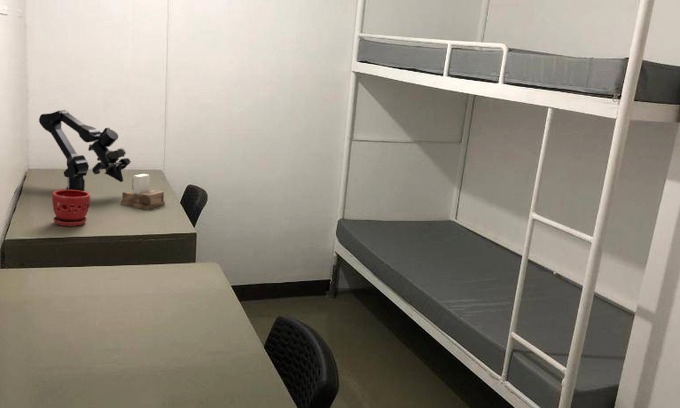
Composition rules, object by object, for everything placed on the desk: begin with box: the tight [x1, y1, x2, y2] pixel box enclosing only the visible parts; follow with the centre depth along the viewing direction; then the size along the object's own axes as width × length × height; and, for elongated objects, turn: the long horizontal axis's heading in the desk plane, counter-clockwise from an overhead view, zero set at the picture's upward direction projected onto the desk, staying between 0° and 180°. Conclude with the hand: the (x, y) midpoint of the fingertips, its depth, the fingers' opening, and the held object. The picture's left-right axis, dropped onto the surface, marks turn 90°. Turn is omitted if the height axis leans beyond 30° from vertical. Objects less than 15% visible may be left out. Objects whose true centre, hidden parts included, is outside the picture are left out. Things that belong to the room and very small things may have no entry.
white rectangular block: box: [131, 173, 151, 195], centre depth 273 cm, size 4×6×11 cm
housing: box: [120, 189, 166, 210], centre depth 274 cm, size 14×12×6 cm
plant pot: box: [51, 189, 91, 227], centre depth 237 cm, size 13×13×12 cm
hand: (122, 181), depth 277 cm, fingers closed
